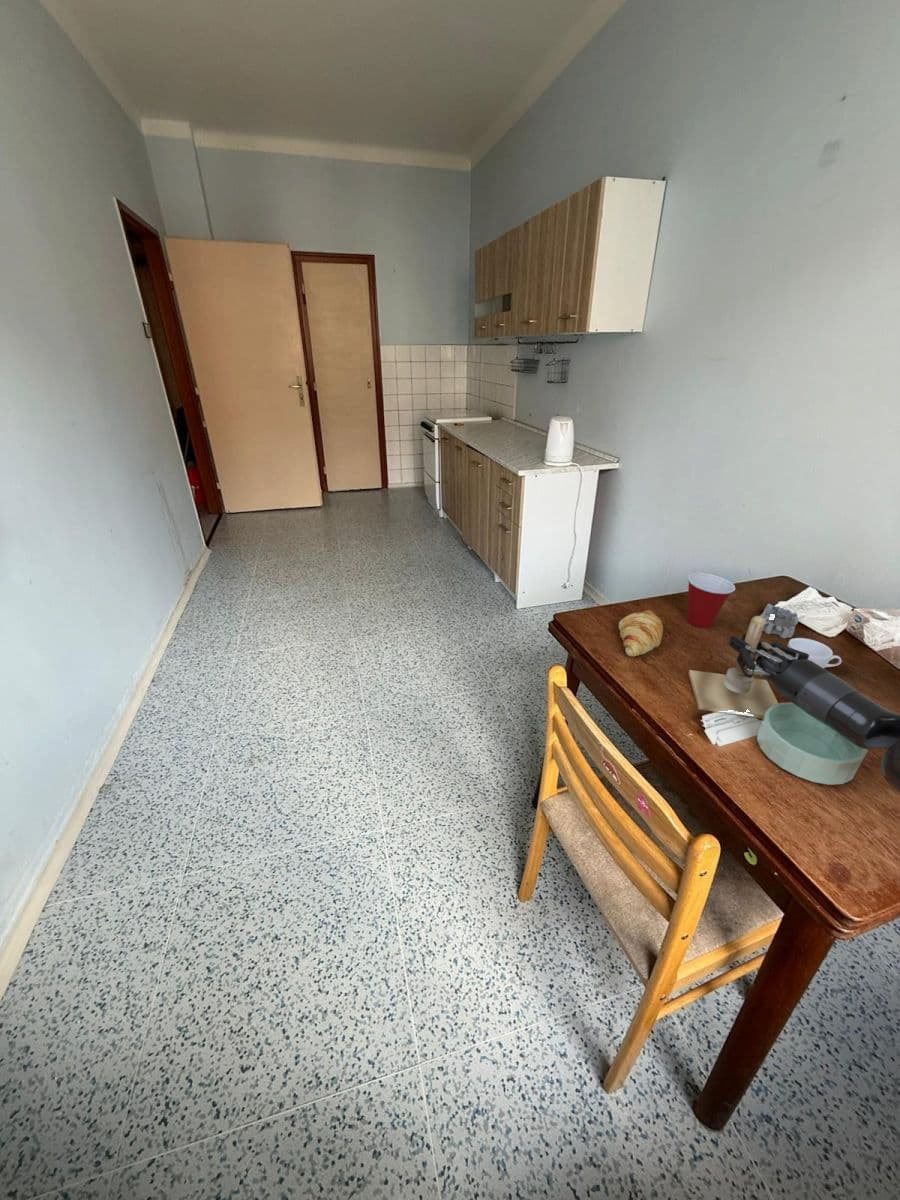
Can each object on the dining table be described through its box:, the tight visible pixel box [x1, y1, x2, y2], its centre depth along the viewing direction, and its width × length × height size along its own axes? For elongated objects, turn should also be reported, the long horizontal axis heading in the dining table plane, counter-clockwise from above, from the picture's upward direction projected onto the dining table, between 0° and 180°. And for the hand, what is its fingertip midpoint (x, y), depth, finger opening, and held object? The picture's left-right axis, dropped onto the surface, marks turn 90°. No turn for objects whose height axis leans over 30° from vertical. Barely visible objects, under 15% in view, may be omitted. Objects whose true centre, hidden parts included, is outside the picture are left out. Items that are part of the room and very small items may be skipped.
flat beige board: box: [688, 669, 779, 720], centre depth 96 cm, size 15×12×1 cm
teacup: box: [787, 637, 842, 669], centre depth 102 cm, size 10×8×5 cm
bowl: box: [756, 702, 869, 786], centre depth 81 cm, size 14×14×6 cm
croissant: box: [618, 609, 664, 658], centre depth 114 cm, size 21×10×8 cm, turn 150°
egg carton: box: [761, 603, 800, 639], centre depth 118 cm, size 11×8×4 cm
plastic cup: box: [686, 572, 736, 629], centre depth 119 cm, size 11×11×12 cm
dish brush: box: [724, 615, 765, 693], centre depth 91 cm, size 5×5×16 cm
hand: (737, 638), depth 93 cm, fingers closed on dish brush
